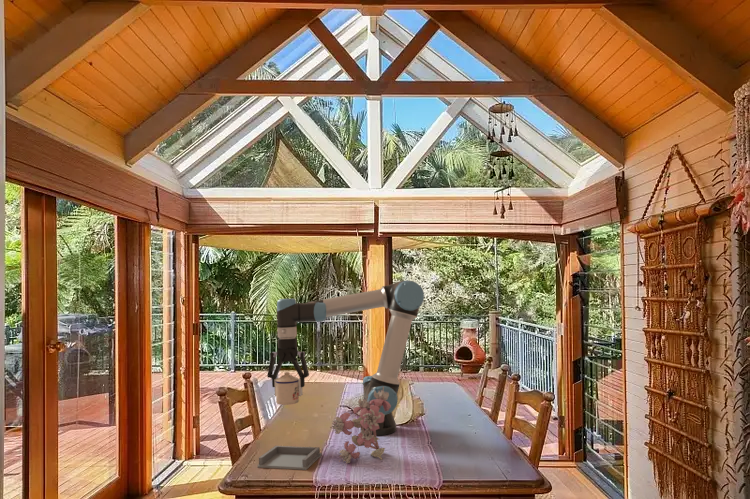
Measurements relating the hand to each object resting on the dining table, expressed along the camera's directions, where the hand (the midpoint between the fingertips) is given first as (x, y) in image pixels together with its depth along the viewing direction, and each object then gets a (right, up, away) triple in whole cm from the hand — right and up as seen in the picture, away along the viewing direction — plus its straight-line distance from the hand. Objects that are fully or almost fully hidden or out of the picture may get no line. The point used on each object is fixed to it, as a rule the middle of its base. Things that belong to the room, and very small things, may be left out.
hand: (288, 395), depth 222 cm
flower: (+29, -18, -21) cm, 40 cm away
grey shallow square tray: (+4, -18, -20) cm, 27 cm away
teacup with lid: (0, -3, 0) cm, 3 cm away
